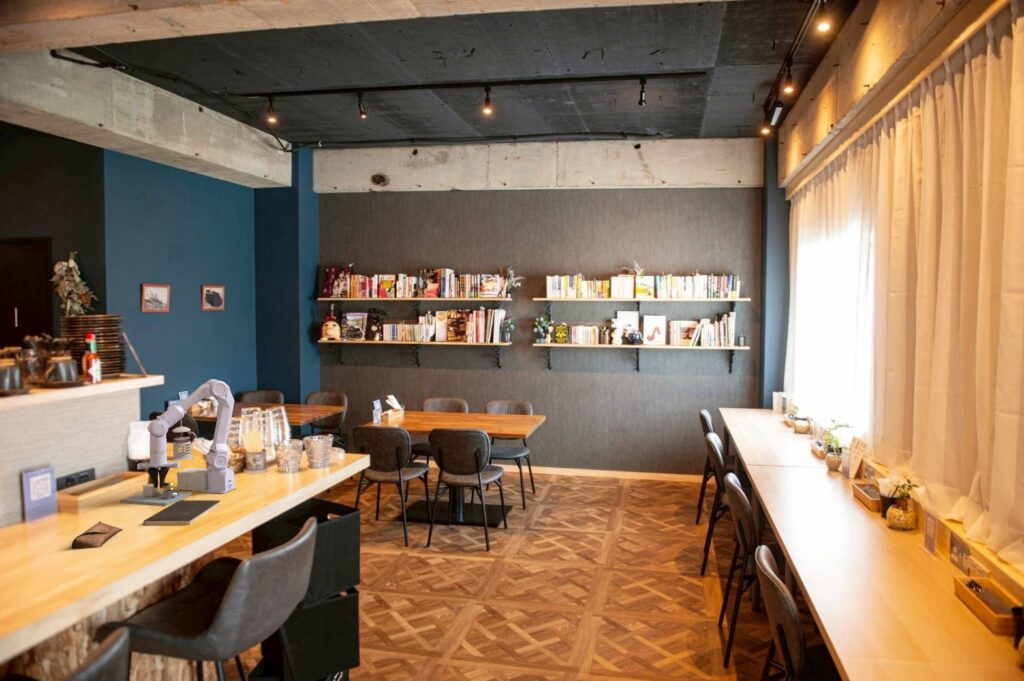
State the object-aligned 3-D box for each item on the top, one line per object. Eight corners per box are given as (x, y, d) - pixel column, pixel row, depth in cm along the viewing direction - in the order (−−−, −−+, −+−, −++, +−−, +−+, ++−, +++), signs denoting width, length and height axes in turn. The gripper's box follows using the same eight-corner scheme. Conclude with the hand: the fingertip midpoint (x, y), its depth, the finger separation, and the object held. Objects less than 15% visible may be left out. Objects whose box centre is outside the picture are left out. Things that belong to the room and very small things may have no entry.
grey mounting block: (178, 495, 266) (178, 488, 266) (168, 499, 261) (168, 491, 261) (173, 495, 267) (173, 487, 267) (162, 499, 261) (162, 491, 261)
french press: (167, 458, 333) (165, 406, 332) (191, 454, 342) (189, 404, 341) (176, 461, 327) (174, 408, 326) (201, 457, 336) (199, 405, 334)
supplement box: (189, 484, 285) (216, 486, 283) (176, 489, 278) (204, 491, 275) (188, 467, 285) (216, 468, 282) (176, 471, 278) (204, 473, 275)
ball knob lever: (169, 490, 262) (169, 483, 262) (159, 488, 266) (159, 481, 265) (174, 489, 264) (174, 482, 264) (164, 487, 267) (163, 480, 267)
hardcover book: (220, 506, 257) (220, 500, 257) (190, 526, 234) (190, 519, 234) (177, 506, 258) (177, 500, 257) (143, 526, 235) (143, 519, 234)
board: (191, 495, 270) (191, 492, 270) (165, 505, 256) (165, 503, 256) (147, 492, 274) (147, 489, 274) (120, 502, 261) (119, 499, 261)
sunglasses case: (101, 547, 213) (88, 529, 212) (80, 560, 212) (67, 542, 211) (124, 528, 231) (112, 512, 230) (105, 540, 230) (93, 523, 229)
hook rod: (179, 496, 265) (179, 485, 264) (173, 498, 262) (173, 487, 261) (149, 494, 268) (148, 483, 268) (143, 496, 265) (142, 485, 265)
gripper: (182, 449, 268) (182, 484, 268) (141, 449, 266) (142, 485, 266) (175, 452, 261) (176, 488, 261) (134, 453, 259) (135, 489, 259)
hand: (158, 487), depth 263 cm, fingers closed
